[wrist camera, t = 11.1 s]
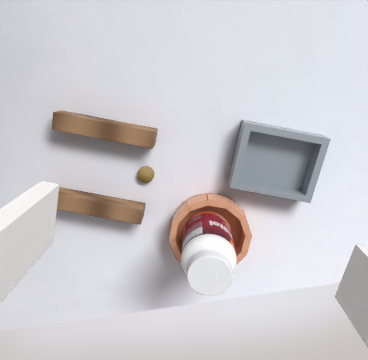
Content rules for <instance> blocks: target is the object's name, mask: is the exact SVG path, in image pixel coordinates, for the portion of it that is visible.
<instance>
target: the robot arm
mask: <svg viewBox="0 0 368 360" xmlns="http://www.w3.org/2000/svg"><path fill="white" fill-rule="evenodd" d="M58 194H59V184H55V183H50V182H45V181H41V182H39V183H38V184H36V185H35V186H33V187H32V188H30V189H29V190H27V191H26V192H24V193H23V194H21V195H20V196H19V197H17V198H16V199H14V200H13V201H11V202H10V203H8V204H7V205H5V206H4V207H2V208H1V209H0V304H1V303H2V302H3V300H4V299H5V298H6V297H7V296H8V295H9V293H10V292H11V291H12V290H13V289H14V288H15V286H16V285H17V284H18V283H19V282H20V280H21V279H22V278H23V277H24V276H25V275H26V273H27V272H28V271H29V270H30V269H31V268H32V266H33V265H34V264H35V263H36V262H37V261H38V259H39V258H40V257H41V256H42V255H43V253H44V252H45V251H46V250H47V249H48V248H49V246H50V245H51V244H52V243H53V242H54V233H55V223H56V213H57V203H58ZM335 298H336V299H337V301H338V302H339V304H340V306H341V307H342V309H343V310H344V312H345V313H346V315H347V316H348V318H349V320H350V321H351V322H352V324H353V326H354V327H355V329H356V330H357V332H358V333H359V335H360V336H361V338H362V340H363V341H364V343H365V344H366V346H367V347H368V247H366V246H361V245H355V247H354V250H353V252H352V255H351V257H350V260H349V262H348V265H347V267H346V270H345V272H344V275H343V277H342V280H341V282H340V285H339V287H338V290H337V292H336V295H335Z"/></svg>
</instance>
